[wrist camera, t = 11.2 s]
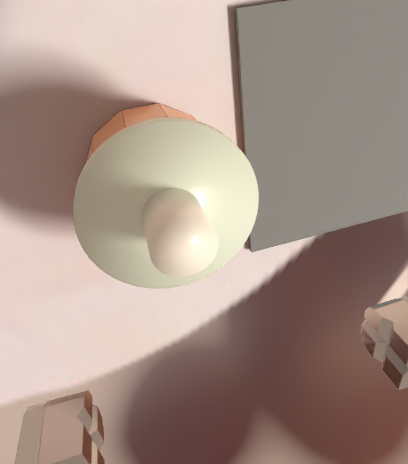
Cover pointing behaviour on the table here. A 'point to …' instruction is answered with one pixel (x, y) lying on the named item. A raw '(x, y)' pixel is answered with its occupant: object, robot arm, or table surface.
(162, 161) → the lid
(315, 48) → the mat
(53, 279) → the table surface
